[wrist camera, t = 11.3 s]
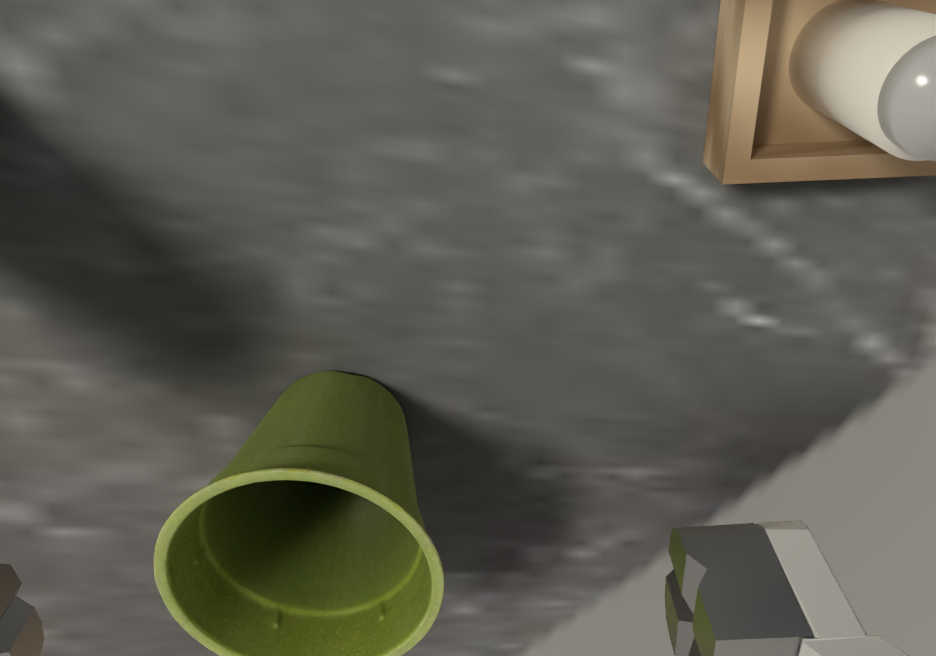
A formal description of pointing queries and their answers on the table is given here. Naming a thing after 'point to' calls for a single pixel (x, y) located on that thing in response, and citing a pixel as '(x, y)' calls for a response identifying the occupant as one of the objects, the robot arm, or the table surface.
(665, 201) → the table surface
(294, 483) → the plant pot
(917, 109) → the salt shaker
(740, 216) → the table surface
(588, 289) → the table surface
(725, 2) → the caddy
